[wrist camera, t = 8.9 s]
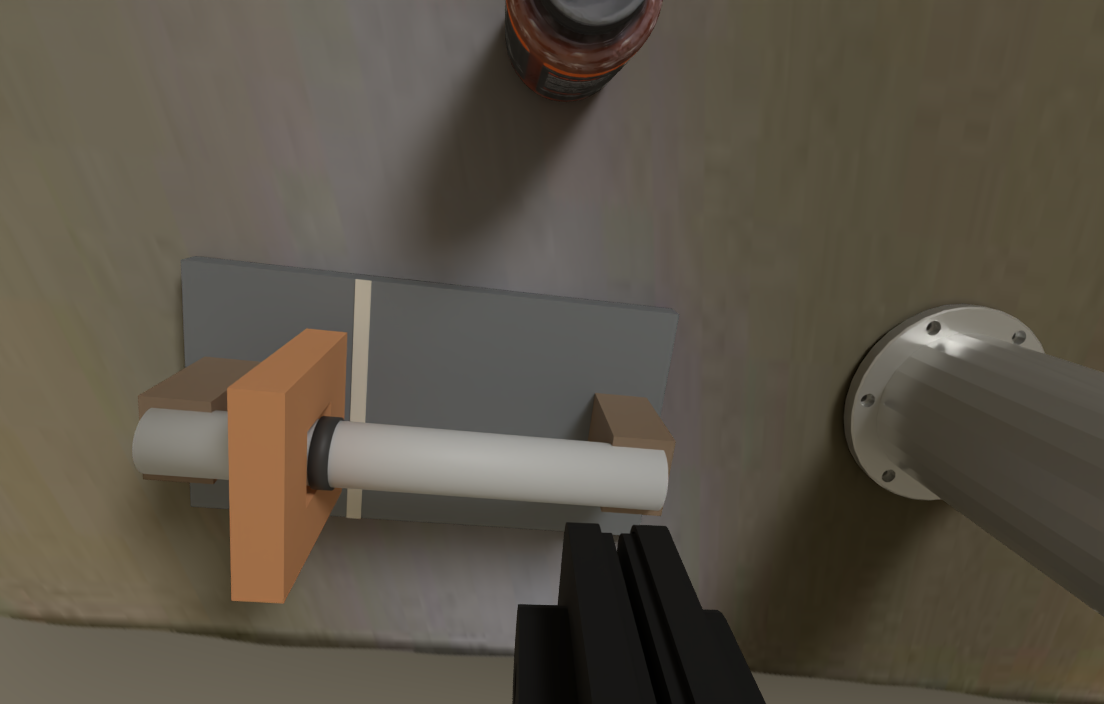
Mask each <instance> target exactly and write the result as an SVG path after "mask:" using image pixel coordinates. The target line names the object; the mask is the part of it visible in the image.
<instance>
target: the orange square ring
mask: <svg viewBox="0 0 1104 704" xmlns="http://www.w3.org/2000/svg"><path fill="white" fill-rule="evenodd" d="M346 357H347V332H337V331H327V330H317V329H307V328H306V329H305V330H304V331H302V332H301V333H300V334H298V335H297V336H296V337H294V338H293V339H292V340H290V341H289V342H288V343H286V344H285V345H284V346H282V347H281V348H280V349H278V350H277V351H276V352H274V353H273V354H272V355H270V356H269V357H268V358H266V359H265V360H264V361H262V362H261V363H260V364H258V365H257V366H256V367H254V368H253V369H252V370H250V371H249V372H248V373H246V374H245V375H244V376H242V377H241V378H240V379H238V380H237V381H236V382H234V383H233V384H232V385H230V386H229V387H228V388H227V410H228V458H229V506H230V554H231V601H247V602H267V603H284V602H285V600H286V598H287V596H288V594H289V592H290V590H291V588H292V586H293V584H294V582H295V581H296V579H297V577H298V575H299V573H300V571H301V569H302V567H303V565H304V563H305V561H306V559H307V557H308V556H309V554H310V552H311V550H312V548H313V546H314V544H315V542H316V540H317V538H318V536H319V534H320V532H321V530H322V529H323V527H324V525H325V523H326V521H327V519H328V517H329V515H330V513H331V511H332V509H333V507H334V505H335V504H336V502H337V500H338V498H339V496H340V494H341V492H342V488H334V490H332V491H327V490H313V489H311V488H310V486H306V480H307V432H308V430H309V429H310V428H311V426H312V425H313V424H314V423H315V421H316V420H317V419H320V418H321V417H322V416H331V417H342V418H343V419H344V414H345V386H346Z"/></svg>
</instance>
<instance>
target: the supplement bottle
mask: <svg viewBox="0 0 1104 704" xmlns="http://www.w3.org/2000/svg"><path fill="white" fill-rule="evenodd" d="M662 2H663V0H505V37H506V45H507V50H508V55H509V57H510V60H511V63H512V66H513V67H514V69H515V71H516V73H517V74H518V76H519V77H520V78H521V80H522V81H523V82H524V83H525V84H526V85H527V86H528V87H529V88H530V89H532V90H533V91H534V92H536V93H537V94H539V95H540V96H543V97H545V98H548V99H551V100H556V101H564V102H567V101H576V100H580V99H584V98H586V97H588V96H590V95H592V94H594V93H595V92H597V91H599V90H600V89H601V88H603V87H604V86H605V85H606V84H607V83H608V82H609V81H610V80H611V79H612V78H613V77H614V76H615V75H616V74H617V72H619V71H620V70H621V69H622V67H623V66H624V65H625V64H626V63H627V62H628V61H629V60H630V59H631V58H632V57H633V56H634V55H635V54H636V52H637V51H638V50H639V49H640V48H641V47H642V46H643V44H644V43H645V42H646V40H647V39H648V37H649V36H650V34H651V32H652V30H653V29H654V27H655V24H656V22H657V19H658V17H659V13H660V10H661V6H662Z"/></svg>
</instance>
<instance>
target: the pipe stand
mask: <svg viewBox="0 0 1104 704" xmlns="http://www.w3.org/2000/svg"><path fill="white" fill-rule="evenodd" d="M181 276H182V301H183V326H184V350H185V368H184V369H183V370H181V371H179V372H178V373H176V374H174V375H172V376H171V377H169V378H167V379H166V380H164V381H162V382H161V383H159V384H157V385H155V386H154V387H152V388H150V389H149V390H147V391H145V392H144V393H142V394H140V395H138V405H139V423H138V426H137V428H136V431H135V434H134V439H133V446H132V455H133V461H134V465H135V467H136V469H137V470H138V471H139V472H140V473H142V474H143V479H146V480H160V481H174V482H188V483H190V500H191V507H205V508H220V509H230V506H229V458H228V410H227V388H228V387H229V386H230V385H232V384H233V383H234V382H236V381H237V380H238V379H240V378H241V377H242V376H244V375H245V374H246V373H248V372H249V371H250V370H252V369H253V368H254V367H256V366H257V365H258V364H260V363H261V362H262V361H264V360H265V359H266V358H268V357H269V356H270V355H272V354H273V353H274V352H276V351H277V350H278V349H280V348H281V347H282V346H284V345H285V344H286V343H288V342H289V341H290V340H292V339H293V338H294V337H296V336H297V335H298V334H300V333H301V332H302V331H304V330H305V329H306V328H307V329H317V330H327V331H337V332H347V357H346V386H345V414H344V419H343V418H342V417H331V416H322V417H321V418H320V419H317V420H316V421H315V423H314V424H313V425H312V426H311V428H310V429H309V430H308V432H307V480H306V486H310V488H311V489H313V490H327V491H332V490H334V488H342V492H341V494H340V496H339V498H338V500H337V502H336V504H335V505H334V507H333V509H332V511H331V513H330V515H329V516H340V517H346V518H355V519H361V518H370V519H385V520H400V521H415V522H430V523H445V524H460V525H475V526H490V527H505V528H520V529H535V530H550V531H565V524H566V522H574V523H598V524H599V525H600V528H601V532H603V533H612V535H620V534H621V533H629V534H630V530H631V527H632V526H633V525H640V523H641V517H642V515H655V516H661V514H662V509H663V504H664V502H665V498H666V494H667V487H668V478H669V473H670V468H671V463H672V458H673V453H674V448H675V443H676V441H675V440H674V438H673V437H672V435H671V434H670V432H669V431H668V429H667V428H666V426H665V425H664V423H663V422H662V420H661V419H660V415H661V410H662V405H663V399H664V394H665V389H666V383H667V378H668V372H669V367H670V362H671V356H672V351H673V346H674V340H675V335H676V330H677V324H678V319H679V314H678V313H677V312H676V311H674V310H673V309H669V308H660V307H651V306H642V305H633V304H624V303H615V302H606V301H597V300H588V299H579V298H570V297H560V296H551V295H542V294H533V293H524V292H515V291H506V290H497V289H488V288H479V287H470V286H461V285H452V284H443V283H434V282H425V281H415V280H406V279H397V278H388V277H379V276H370V275H361V274H352V273H343V272H334V271H325V270H316V269H307V268H298V267H289V266H280V265H270V264H261V263H252V262H243V261H234V260H225V259H216V258H207V257H198V256H195V257H190V258H186V259H182V260H181Z"/></svg>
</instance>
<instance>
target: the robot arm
mask: <svg viewBox="0 0 1104 704" xmlns="http://www.w3.org/2000/svg"><path fill="white" fill-rule="evenodd" d="M844 430H845V437H846V440H847V444H848V447H849V450H850V452H851V454H852V456H853V457H854V459H855V461H856V463H857V465H858V466H859V467H860V468H861V469H862V470H863V471H864V472H865V473H866V474H867V475H868V476H869V477H870V478H871V479H872V480H874V481H875V482H876V483H877V484H879V485H880V486H881V487H883V488H885V489H887V490H889V491H890V492H892V493H894V494H896V495H899V496H903V497H907V498H910V499H916V500H929V501H930V500H940V499H942V500H943V501H945V502H946V503H947V504H949V505H950V506H952V507H953V508H954V509H956V510H957V511H958V512H960V513H961V514H963V515H964V516H965V517H967V518H968V519H969V520H971V521H972V522H974V523H975V524H976V525H978V526H979V527H981V528H982V529H983V530H985V531H986V532H987V533H989V534H990V535H992V536H993V537H994V538H996V539H997V540H998V541H1000V542H1001V543H1003V544H1004V545H1005V546H1007V547H1008V548H1009V549H1011V550H1012V551H1014V552H1015V553H1016V554H1018V555H1019V556H1020V557H1022V558H1023V559H1025V560H1026V561H1027V562H1029V563H1030V564H1031V565H1033V566H1034V567H1036V568H1037V569H1038V570H1040V571H1041V572H1042V573H1044V574H1045V575H1047V576H1048V577H1049V578H1051V579H1052V580H1053V581H1055V582H1056V583H1058V584H1059V585H1060V586H1062V587H1063V588H1065V589H1066V590H1067V591H1069V592H1070V593H1071V594H1073V595H1074V596H1076V597H1077V598H1078V599H1080V600H1081V601H1082V602H1084V603H1085V604H1087V605H1088V606H1089V607H1091V608H1092V609H1093V610H1095V611H1096V612H1098V613H1099V614H1100V615H1102V616H1103V617H1104V372H1100V371H1097V370H1094V369H1091V368H1088V367H1085V366H1082V365H1078V364H1075V363H1072V362H1069V361H1066V360H1063V359H1060V358H1056V357H1053V356H1050V355H1047V354H1045V352H1044V350H1043V347H1042V345H1041V343H1040V342H1039V340H1038V339H1037V338H1036V336H1035V335H1034V333H1033V332H1032V331H1031V330H1030V329H1029V328H1028V327H1027V326H1026V325H1024V324H1023V323H1022V322H1021V321H1020V320H1018V319H1017V318H1015V317H1013V316H1011V315H1009V314H1006V313H1004V312H1002V311H999V310H995V309H992V308H988V307H984V306H979V305H970V304H955V305H944V306H941V307H937V308H933V309H930V310H926V311H924V312H921V313H919V314H917V315H915V316H913V317H911V318H909V319H906V320H905V321H904V322H902V323H901V324H899V325H898V326H896V327H895V328H893V329H892V330H890V331H889V332H888V333H887V334H886V335H885V336H884V337H883V338H882V339H881V340H880V341H879V342H877V343H876V344H875V345H874V346H873V348H872V349H871V350H870V352H869V353H868V354H867V356H866V357H865V358H864V360H863V361H862V362H861V364H860V366H859V368H858V370H857V372H856V373H855V375H854V377H853V379H852V381H851V384H850V388H849V391H848V394H847V397H846V402H845V410H844ZM513 704H766V703H765V701H764V699H763V697H762V694H761V692H760V690H759V688H758V686H757V684H756V682H755V680H754V678H753V675H752V673H751V671H750V669H749V667H748V665H747V663H746V661H745V659H744V656H743V654H742V652H741V650H740V648H739V646H738V644H737V642H736V639H735V637H734V635H733V633H732V631H731V629H730V627H729V625H728V623H727V620H726V619H725V617H724V616H723V614H722V613H721V612H720V611H718V610H703V609H702V607H701V604H700V602H699V600H698V598H697V595H696V593H695V591H694V588H693V586H692V584H691V581H690V579H689V577H688V574H687V572H686V570H685V567H684V565H683V563H682V560H681V558H680V556H679V553H678V551H677V549H676V546H675V544H674V542H673V539H672V537H671V535H670V532H669V530H668V528H667V527H666V526H652V525H633V526H632V527H631V530H630V534H629V533H621V534H620V536H619V540H618V548H617V551H616V547H615V543H614V539H613V535H612V533H603V532H601V528H600V525H599V524H598V523H574V522H566V524H565V531H564V541H563V552H562V563H561V574H560V585H559V596H558V605H526V604H518V610H517V623H516V637H515V653H514V674H513Z"/></svg>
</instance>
